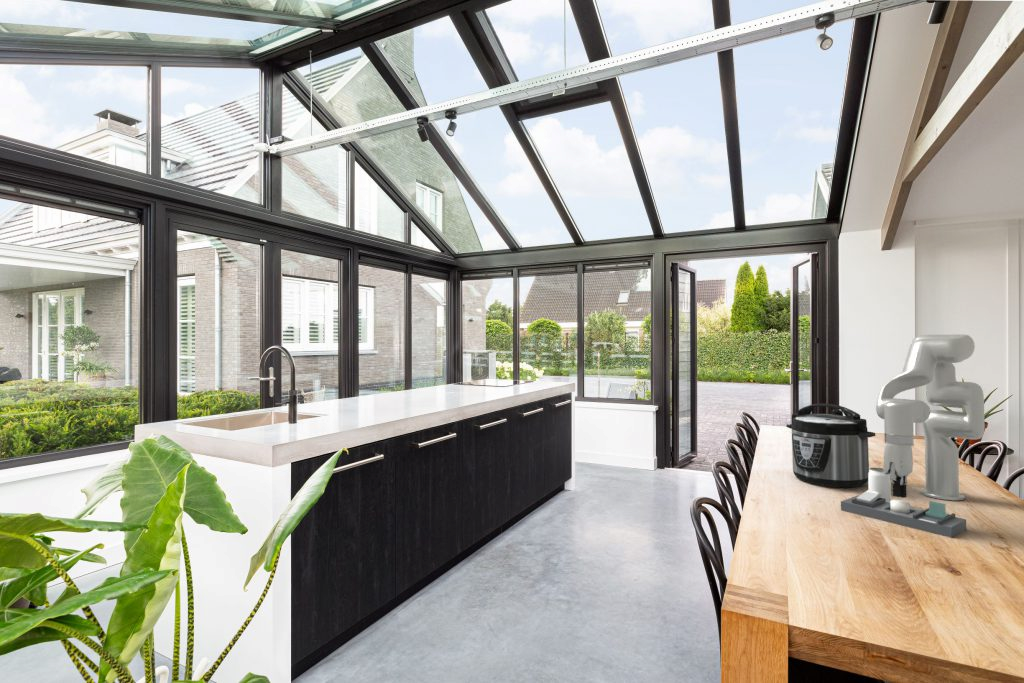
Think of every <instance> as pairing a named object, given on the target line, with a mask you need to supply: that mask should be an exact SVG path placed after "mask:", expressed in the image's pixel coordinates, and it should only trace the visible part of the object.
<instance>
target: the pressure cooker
mask: <svg viewBox="0 0 1024 683" xmlns="http://www.w3.org/2000/svg"><path fill="white" fill-rule="evenodd" d="M815 407H817V408H819V407H827V408H831V409H833V410H832V411H831V413H812V412H813V411H814V409H815ZM867 422H868V421H867V419H866V418H861V415H860V414H859V413H858V412H856V411H854V410H852V409H850V408H847V407H845V406H843V405H839V404H834V403H833V404H832V403H814V404H810V405H809V404H808V405H805V406H803V407H801V408H799V409H797V412H796V413H792V414H791V423H788V424H786V428H787V429H790V432H791V456H792V457H791V460H792V472H793V475H794V476H795V477H796V478H797V479H798V480H801V481H803V482H806V483H809V484H813V485H819V486H828V487H837V488H838V487H839V488H853V487H854V488H856V487H862V486H863V485H865V484H868V473H869V471H870V462H869V457H870V456H869V438H873V437H876V433H875V432H873V431H869V430H868V427H867V425H868V424H867Z"/></svg>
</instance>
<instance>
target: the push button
mask: <svg viewBox="0 0 1024 683" xmlns="http://www.w3.org/2000/svg"><path fill="white" fill-rule="evenodd" d="M910 505H911V504H910V502H908V501H905V500H902V499H891V500H890V511H894V512H899V513H903V514H907V515H908V514H910V507H911V506H910Z"/></svg>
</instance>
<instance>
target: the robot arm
mask: <svg viewBox="0 0 1024 683" xmlns="http://www.w3.org/2000/svg"><path fill="white" fill-rule="evenodd" d="M975 346H976V345H975V341H974V339H973V338H972V337H971V336H970V335H969V334H963V333H962V334H956V333H955V334H923V335H918V336H916V337H914V338H913V339H912V342H911V343H910V345H909V348H908V352H907V356H906V358H905V362H904V366H903V368H902V372H901V373H899V374H897V375H895V376H893V377H892V378H891V379H889V380H888V381H886V383H885V384H884V385H883V386H882V388H881V389H880V392H879V393H878V394H879V395H878V398H877V401H876V407H875V411H876V414H877V416H878V417H879V418H880V419H882V420H884V421H883V422H884V425H883V427H884V444H885V446H884V454H883V469H884V474H890V480H891V483H892V497H893V496H894V497H898V498H902V499H903V498H907V483H908V480H907V479H908V477H909V475H910V474H912V473H913V468H914V467H913V465H914V462H913V460H914V458H913V449H912V447H913V446H915V445H914V444H915V443H914V437H915V436H914V424H921V427H922V430H923V431H922V432H923V437H924V460H925V462H924V464H925V465H924V466H925V470H924V471H925V487H923V488H921V489H920V491H919V492H920V494H921V495H923V496H926V497H928V498H933V499H938V500H945V501H963V500H965V497H966V496H965V494H963V493H962V492H960V478H959V477H960V473H959V472H960V471H959V470H960V469H959V468H960V467H959V466H960V463H959V460H960V459H959V454H960V453H959V448H958V447H957V444H956V443H955V442H954V441H953V440H952V439H951V438H955V439H964V440H979V439H981V438H983V436H984V433H985V422H986V421H985V396H984V390H983V389H982V387H981V385H980V384H978V383H976V382H972V381H957V379H956V367H955V365H954V364H957V363H961V362H964V361H965V360H966V361H967V360H968V359H969V358H971V357H972V355H973V354H974V352H975ZM923 386H925V396H926V400H927V402H928V403H929V405H931V406H936V407H941V408H942V407H943V408H957V409H963V410H964V411H955V410H944V409H943V410H942V409H930V406H929V405H928V404H927V402H925V401H923V400H920V399H919V400H918V399H910V398H909V399H907V398H895V397H896V396H897V395H898V394H900V393H902V392H905V391H909V390H912V389H917V388H920V387H923Z"/></svg>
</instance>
